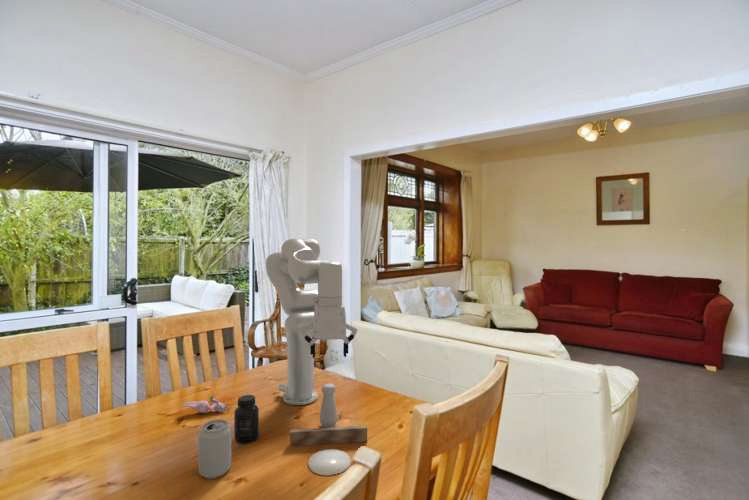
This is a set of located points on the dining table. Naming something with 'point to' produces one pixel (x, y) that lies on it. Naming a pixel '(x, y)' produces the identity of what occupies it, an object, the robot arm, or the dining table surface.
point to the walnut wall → (328, 435)
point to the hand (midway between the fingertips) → (329, 356)
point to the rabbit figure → (207, 406)
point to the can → (214, 448)
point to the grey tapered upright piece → (328, 407)
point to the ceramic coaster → (329, 462)
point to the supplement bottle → (246, 420)
